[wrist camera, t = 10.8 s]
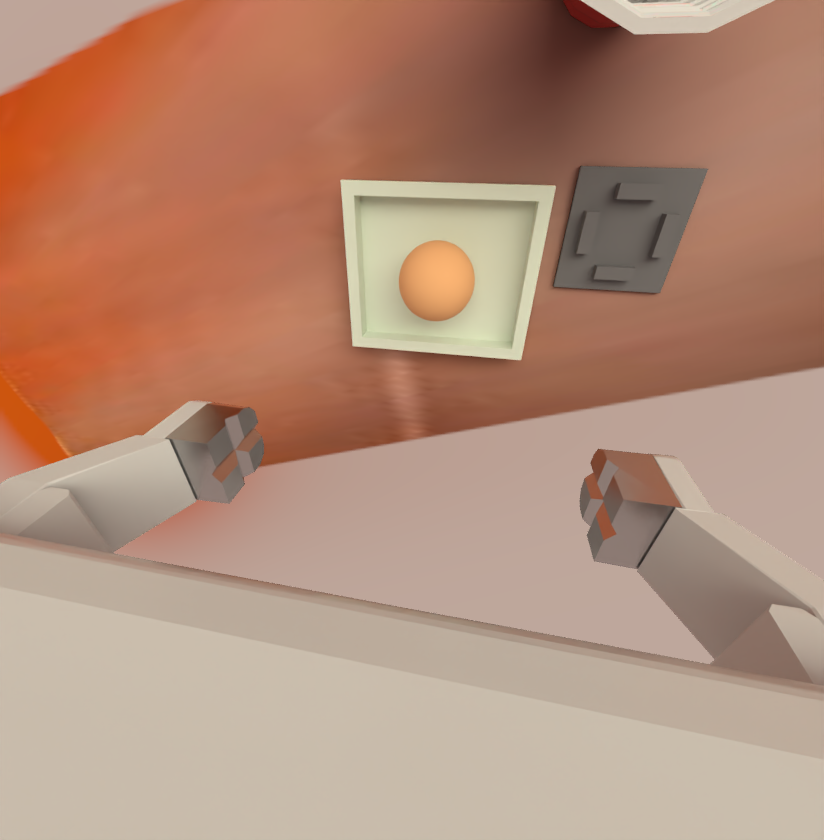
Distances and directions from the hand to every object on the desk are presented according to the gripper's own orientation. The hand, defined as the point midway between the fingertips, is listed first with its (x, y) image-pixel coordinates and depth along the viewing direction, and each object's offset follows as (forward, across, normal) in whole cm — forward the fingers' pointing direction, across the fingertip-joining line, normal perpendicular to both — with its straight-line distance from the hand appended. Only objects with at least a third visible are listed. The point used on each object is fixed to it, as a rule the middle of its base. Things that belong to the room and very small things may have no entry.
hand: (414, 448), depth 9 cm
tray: (+21, +2, +1) cm, 21 cm away
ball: (+21, +2, +1) cm, 21 cm away
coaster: (+22, -10, -2) cm, 24 cm away
